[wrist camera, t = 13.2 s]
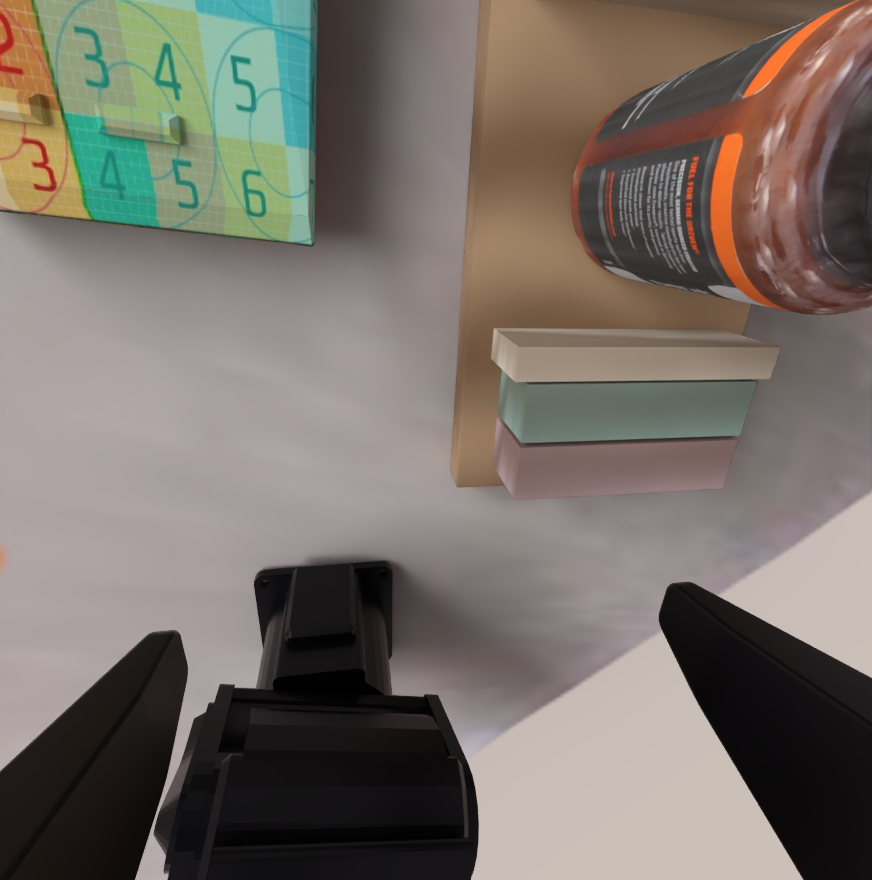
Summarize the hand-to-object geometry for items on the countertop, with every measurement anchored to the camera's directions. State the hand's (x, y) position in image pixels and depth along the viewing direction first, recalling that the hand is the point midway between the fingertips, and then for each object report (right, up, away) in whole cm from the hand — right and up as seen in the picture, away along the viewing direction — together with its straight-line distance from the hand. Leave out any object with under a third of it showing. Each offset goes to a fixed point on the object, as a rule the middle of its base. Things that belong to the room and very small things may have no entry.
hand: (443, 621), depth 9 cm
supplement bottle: (+7, +12, +9) cm, 17 cm away
